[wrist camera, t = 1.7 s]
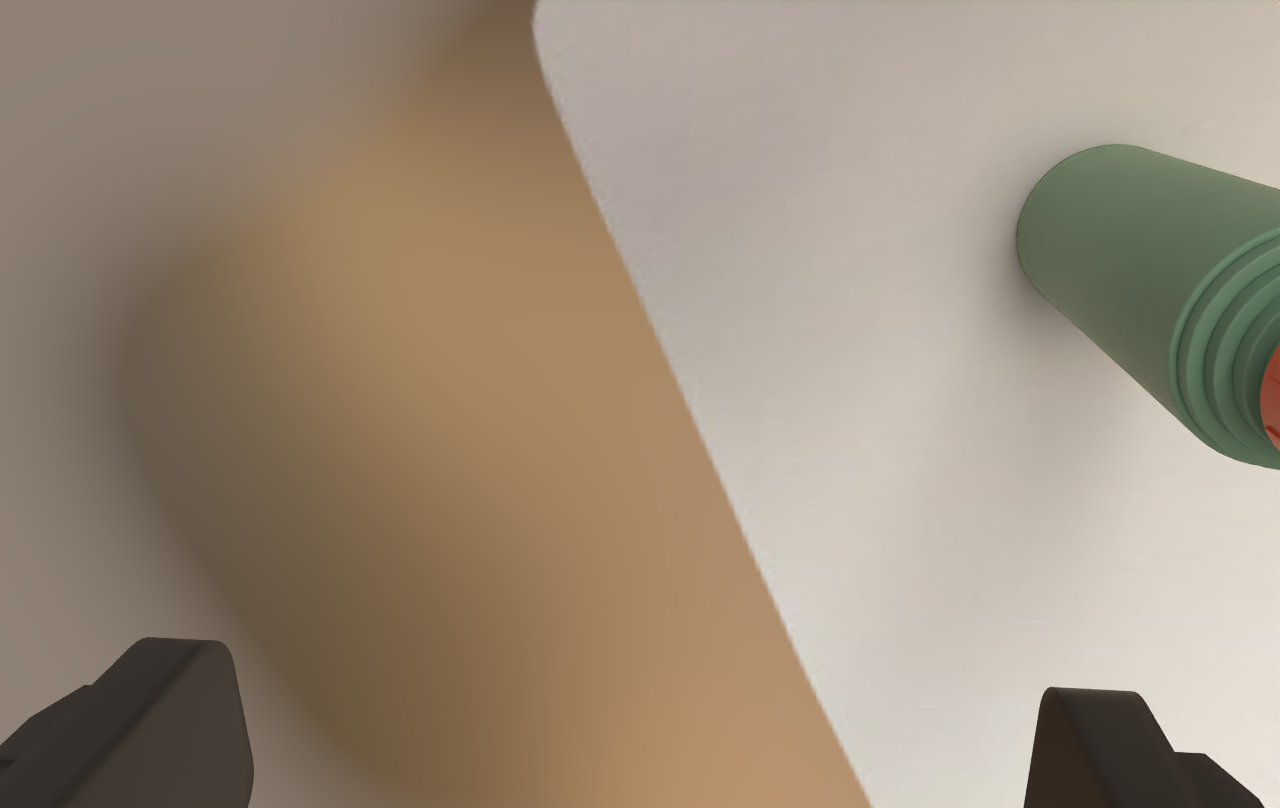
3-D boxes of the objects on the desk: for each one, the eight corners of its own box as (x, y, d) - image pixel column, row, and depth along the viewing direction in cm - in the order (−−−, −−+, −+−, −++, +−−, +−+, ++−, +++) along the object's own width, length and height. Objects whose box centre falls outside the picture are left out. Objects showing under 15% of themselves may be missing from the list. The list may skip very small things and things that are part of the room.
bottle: (1010, 162, 32) (1303, 313, 15) (1192, 128, 31) (1728, 249, 14) (1022, 322, 34) (1294, 621, 17) (1193, 296, 33) (1668, 583, 16)
